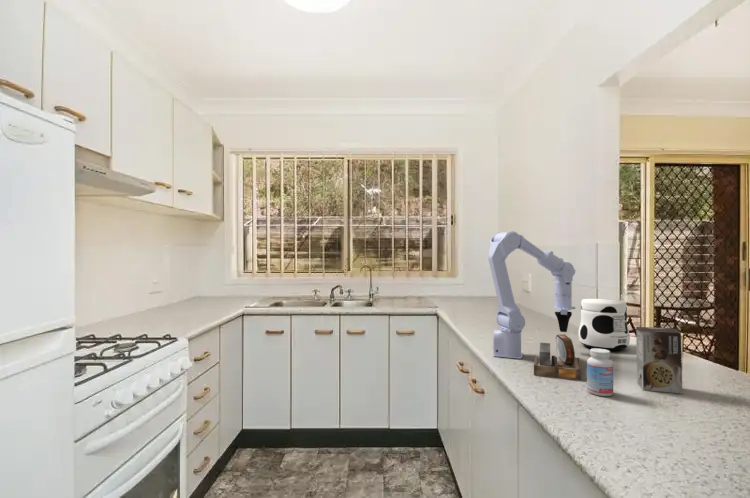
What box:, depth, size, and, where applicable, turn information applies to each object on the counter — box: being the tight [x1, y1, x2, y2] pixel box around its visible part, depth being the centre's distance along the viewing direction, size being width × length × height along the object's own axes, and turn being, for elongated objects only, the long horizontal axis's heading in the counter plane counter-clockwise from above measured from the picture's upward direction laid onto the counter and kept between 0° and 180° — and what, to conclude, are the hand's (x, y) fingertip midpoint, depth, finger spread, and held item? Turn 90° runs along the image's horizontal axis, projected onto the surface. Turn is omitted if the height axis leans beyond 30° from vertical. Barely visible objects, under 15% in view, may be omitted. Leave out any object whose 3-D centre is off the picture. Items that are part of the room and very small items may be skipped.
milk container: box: [578, 298, 631, 351], centre depth 158 cm, size 17×17×18 cm
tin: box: [555, 333, 576, 365], centre depth 139 cm, size 15×3×8 cm, turn 168°
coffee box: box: [635, 326, 683, 394], centre depth 112 cm, size 9×6×16 cm
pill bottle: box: [586, 348, 614, 397], centre depth 109 cm, size 6×6×11 cm
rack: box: [533, 342, 581, 381], centre depth 129 cm, size 13×16×7 cm
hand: (563, 331), depth 151 cm, fingers closed
